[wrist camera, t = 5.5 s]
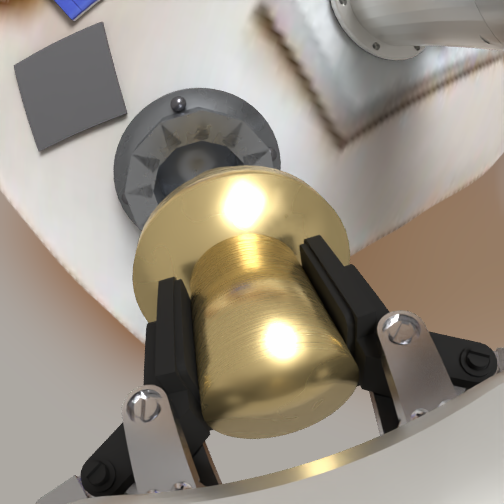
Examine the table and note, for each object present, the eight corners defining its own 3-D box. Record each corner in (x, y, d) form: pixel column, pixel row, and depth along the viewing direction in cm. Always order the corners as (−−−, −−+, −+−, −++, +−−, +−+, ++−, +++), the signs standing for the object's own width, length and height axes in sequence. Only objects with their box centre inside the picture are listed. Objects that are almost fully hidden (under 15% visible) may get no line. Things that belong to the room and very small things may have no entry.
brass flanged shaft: (292, 123, 14) (451, 218, 5) (312, 263, 18) (400, 412, 10) (122, 171, 13) (42, 336, 5) (176, 303, 18) (189, 476, 9)
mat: (103, 22, 19) (101, 21, 19) (127, 112, 24) (126, 113, 24) (16, 65, 19) (13, 65, 18) (41, 150, 23) (38, 151, 23)
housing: (254, 71, 25) (277, 68, 19) (282, 210, 32) (307, 243, 26) (99, 117, 24) (76, 129, 18) (149, 250, 31) (145, 292, 25)
